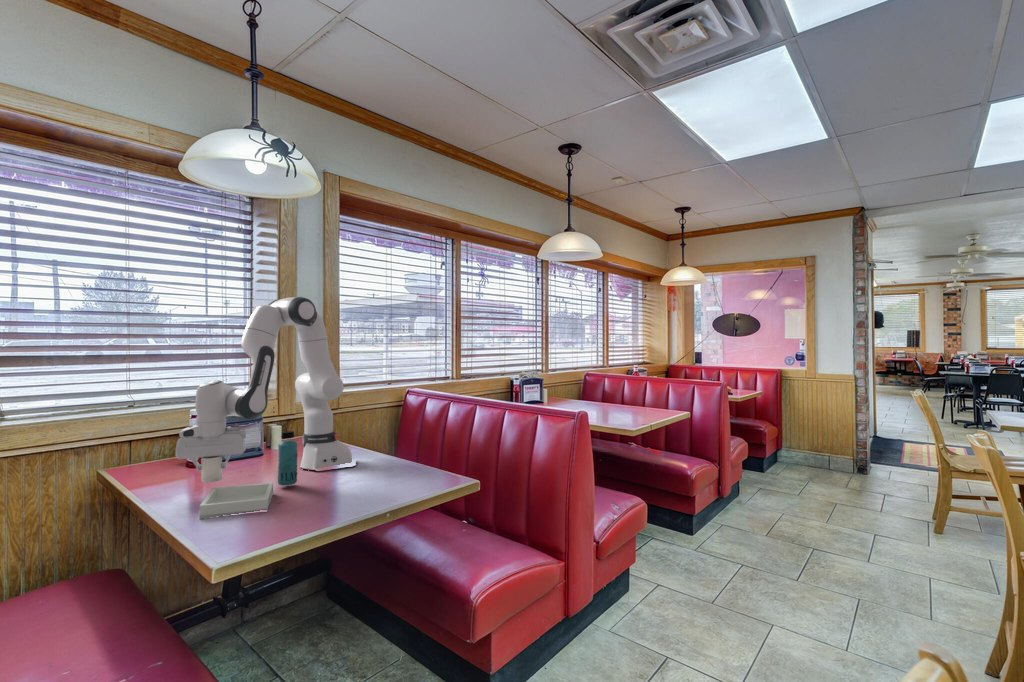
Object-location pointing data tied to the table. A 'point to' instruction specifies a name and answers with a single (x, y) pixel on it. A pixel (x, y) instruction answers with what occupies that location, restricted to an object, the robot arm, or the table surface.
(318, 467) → the robot arm
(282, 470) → the beverage bottle
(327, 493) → the table surface
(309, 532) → the table surface
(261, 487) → the tray
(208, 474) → the cup
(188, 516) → the table surface
